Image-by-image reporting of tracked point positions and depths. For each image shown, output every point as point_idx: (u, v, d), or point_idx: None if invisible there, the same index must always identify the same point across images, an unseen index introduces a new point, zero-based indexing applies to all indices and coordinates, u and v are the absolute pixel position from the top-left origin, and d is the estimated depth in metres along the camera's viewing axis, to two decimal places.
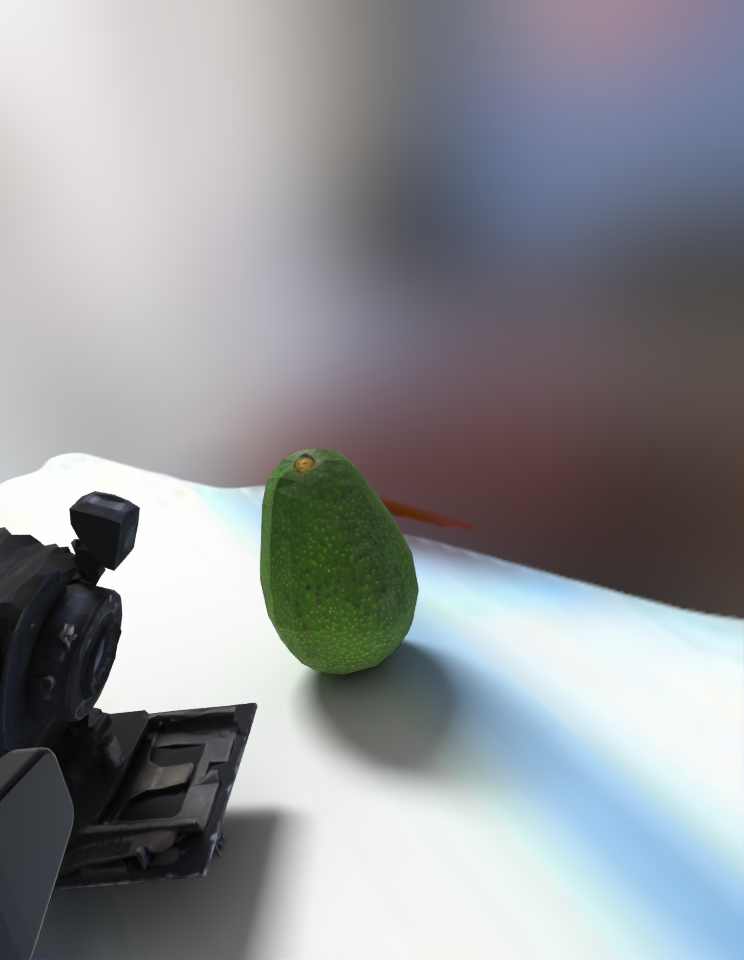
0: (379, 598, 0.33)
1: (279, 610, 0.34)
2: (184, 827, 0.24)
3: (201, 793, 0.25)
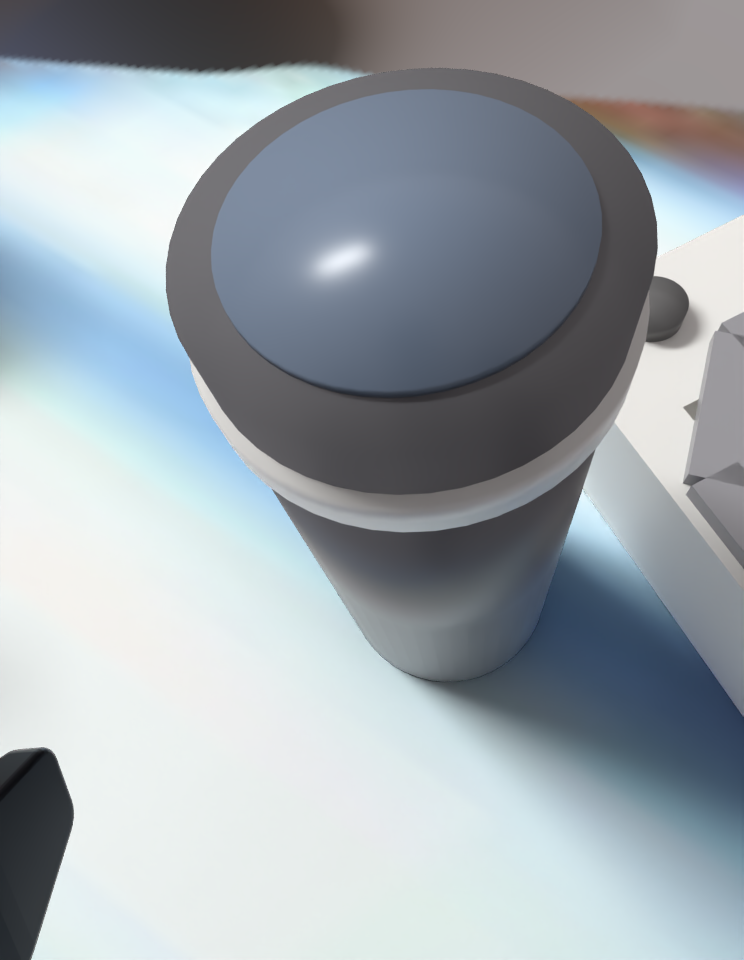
0: None
1: None
2: None
3: None
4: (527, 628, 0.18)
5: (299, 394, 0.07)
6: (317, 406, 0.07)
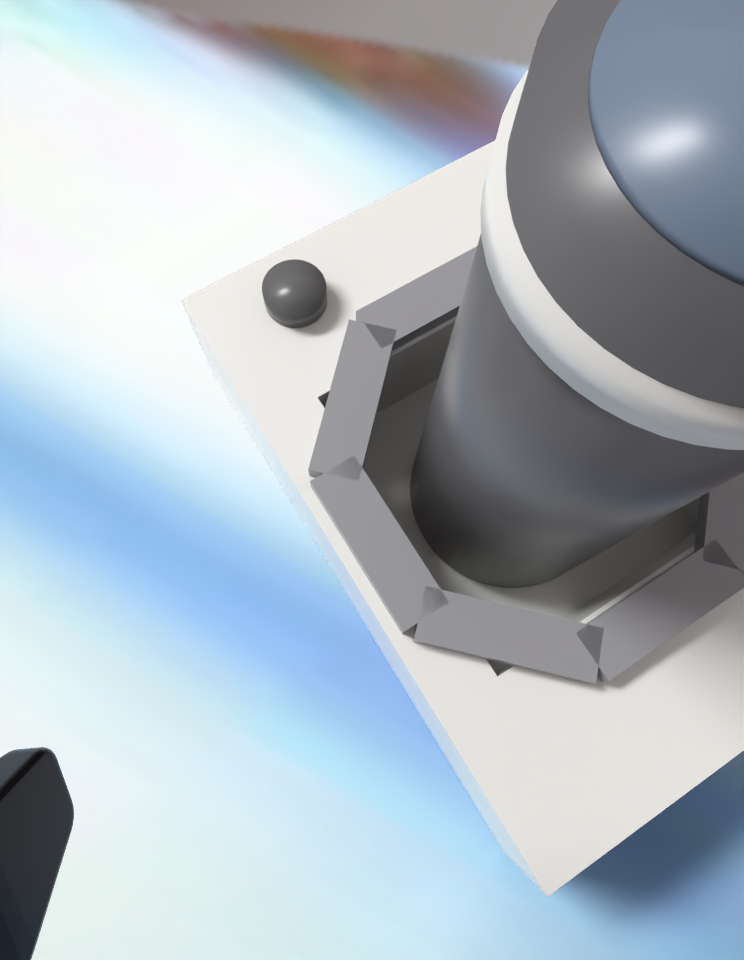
0: None
1: None
2: None
3: None
4: None
5: (667, 258, 0.07)
6: (686, 278, 0.07)
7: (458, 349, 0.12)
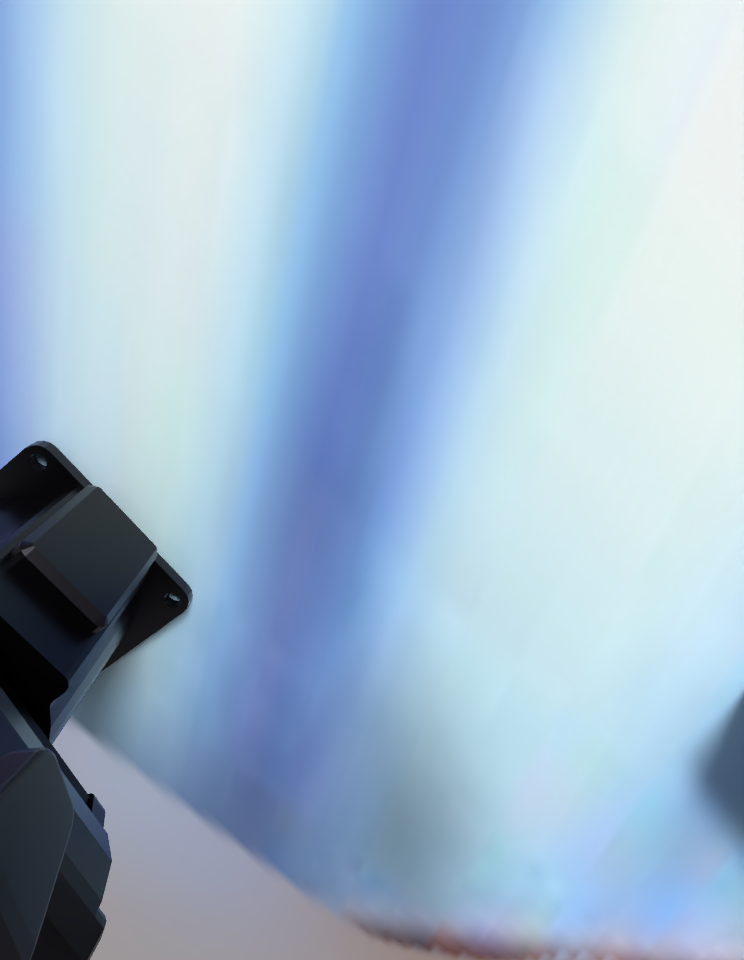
0: None
1: None
2: None
3: None
4: None
5: None
6: None
7: None
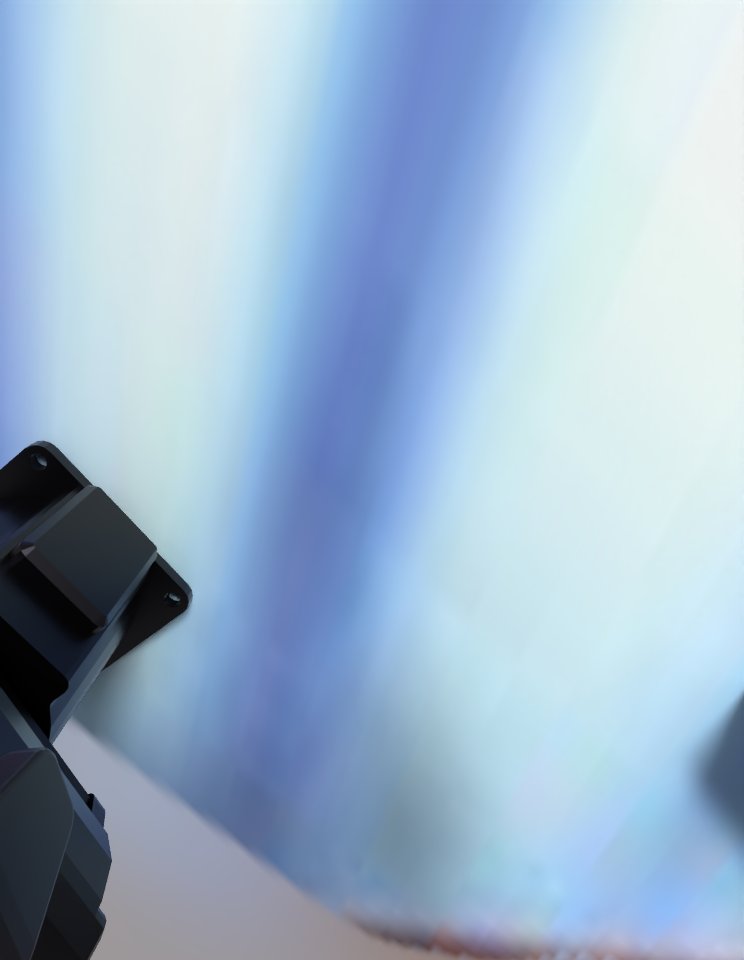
0: None
1: None
2: None
3: None
4: None
5: None
6: None
7: None
